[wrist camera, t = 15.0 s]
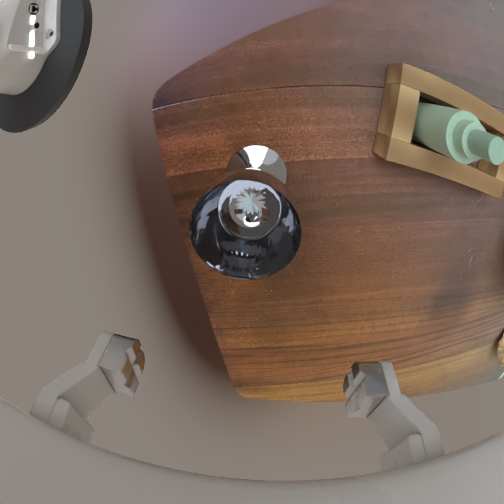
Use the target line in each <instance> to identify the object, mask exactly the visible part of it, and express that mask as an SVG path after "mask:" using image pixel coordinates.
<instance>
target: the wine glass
mask: <svg viewBox="0 0 504 504" xmlns="http://www.w3.org/2000/svg"><path fill="white" fill-rule="evenodd" d="M286 179H287V169H286V165H285V163H284V161H283V159H282V158H281V156H280V155H279V154H278V153H277V152H275V151H274V150H272V149H271V148H268V147H266V146H261V145H252V146H247V147H244V148H242V149H240V150H239V151H238V152H236V153H235V154H234V155H233V157H232V158H231V159H230V161H229V164H228V167H227V173H226V174H224V175H223V176H221V177H219V178H218V179H216V180H215V181H214V182H213V183H212V184H211V185H210V186H209V187H208V188H207V189H206V190H205V192H204V193H203V194H202V196H201V197H200V198H199V200H198V202H197V203H196V205H195V207H194V209H193V212H192V215H191V219H190V228H189V230H190V238H191V241H192V244H193V247H194V248H195V250H196V252H197V254H198V255H199V256H200V258H201V259H202V260H203V261H204V262H205V263H206V264H207V265H208V266H209V267H211V268H212V269H214V270H215V271H217V272H219V273H221V274H223V275H225V276H228V277H231V278H236V279H241V280H253V279H261V278H264V277H268V276H270V275H273V274H275V273H277V272H278V271H280V270H281V269H283V268H284V267H285V266H286V265H287V264H289V263H290V261H291V260H292V259H293V257H294V256H295V254H296V252H297V250H298V248H299V245H300V241H301V222H300V216H299V212H298V209H297V206H296V203H295V200H294V198H293V196H292V194H291V193H290V191H289V190H288V188H287V187H286V186H285V183H286Z"/></svg>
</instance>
